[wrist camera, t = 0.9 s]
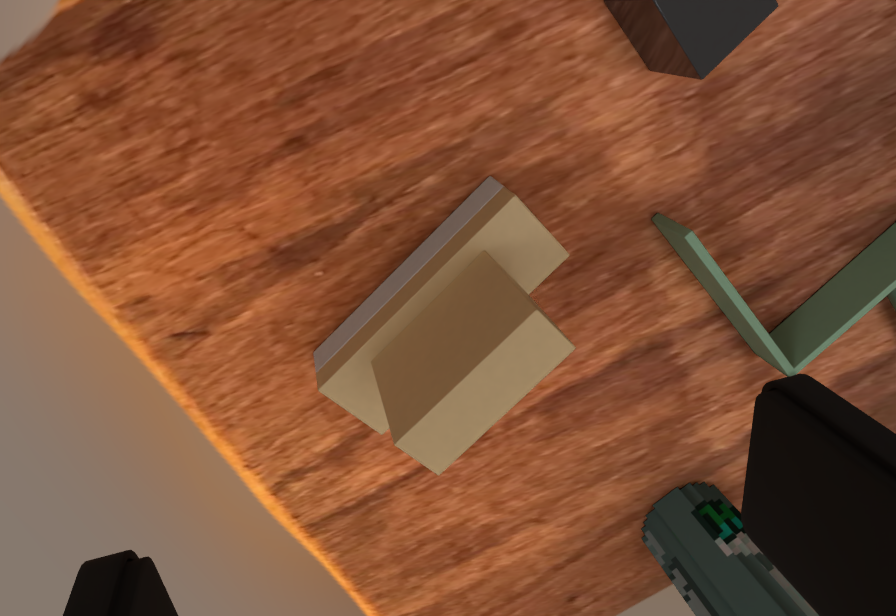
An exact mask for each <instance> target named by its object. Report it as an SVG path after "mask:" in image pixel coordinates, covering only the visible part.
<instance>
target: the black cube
mask: <svg viewBox="0 0 896 616" xmlns="http://www.w3.org/2000/svg"><path fill="white" fill-rule="evenodd" d="M604 2H605V4H606V5H607V7H608V8H609V10H610V11H611V13H612V14H613V16H614V17H615V19H616V20H617V22H618V23H619V25H620V26H621V28H622V29H623V31H624V32H625V34H626V35H627V37H628V38H629V40H630V41H631V43H632V44H633V46H634V47H635V49H636V50H637V52H638V53H639V55H640V56H641V58H642V59H643V61H644V63H645V64H646V66H647V67H648V69H649V70H650V71H653V72H659V73H665V74H671V75H677V76H683V77H688V78H694V79H700V80H702V79H704V78H705V77H706V76H707V75H708V74H709V73H710V72H711V71H712V70H713V69H714V68H715V67H716V66H717V65H718V64H719V63H720V62H721V61H722V60H723V59H724V58H725V57H726V56H727V55H728V54H729V53H731V52H732V51H733V50H734V49H735V48H736V47H737V46H738V45H739V44H740V43H741V42H742V41H743V40H744V39H745V38H746V37H747V36H748V35H749V34H750V33H751V32H752V31H753V30H754V29H755V28H756V27H757V26H758V25H759V24H760V23H761V22H762V21H764V20H765V19H766V18H767V17H768V16H769V15H770V14H771V13H772V12H773V11H774V10H775V9H776V8H777V7H778V3H777V1H776V0H604Z"/></svg>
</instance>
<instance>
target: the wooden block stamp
mask: <svg viewBox="0 0 896 616" xmlns="http://www.w3.org/2000/svg"><path fill="white" fill-rule="evenodd" d="M568 257H569V253H568V252H567V251H566V250H565V249H564V248H563V247H562V246H561V244H560V243H559V242H558V241H557V240H556V239H555V238H554V237H553V236H552V235H551V233H550V232H549V231H548V230H547V229H546V228H545V227H544V226H543V225H542V223H541V222H540V221H539V220H538V219H537V218H536V217H535V216H534V215H533V214H532V212H531V211H530V210H529V209H528V208H527V207H526V206H525V205H524V204H523V202H522V201H521V200H520V199H519V198H518V197H517V196H516V195H515V194H514V193H512V192H511V191H510V190H508V189H507V188H506V187H504V186H503V185H502V184H500V183H499V182H498V181H497V180H495V179H494V178H493V177H491V176H489V177H488V178H487V179H486V180H485V181H484V182H483V183H482V184H481V185H480V186H479V187H478V188H477V189H476V190H475V191H474V192H473V193H472V194H471V195H470V196H469V197H468V198H467V199H466V200H465V201H464V202H463V203H462V204H461V205H460V206H459V207H458V208H457V209H456V210H455V211H454V212H453V213H452V214H451V215H450V216H449V217H448V218H447V219H446V220H445V221H444V222H443V223H442V224H441V225H440V226H439V227H438V228H437V229H436V230H435V231H434V232H433V233H432V234H431V235H430V236H429V237H428V238H427V239H426V240H425V241H424V242H423V243H422V244H421V245H420V246H419V247H418V248H417V249H416V250H415V251H414V252H413V253H412V254H411V255H410V256H409V257H408V258H407V259H406V260H405V261H404V262H403V263H402V264H401V265H400V266H399V267H398V268H397V269H396V270H395V271H394V272H393V273H392V274H391V275H390V276H389V277H388V278H387V279H386V280H385V281H384V282H383V283H382V284H381V285H380V286H379V287H378V288H377V289H376V290H375V291H374V292H373V293H372V294H371V295H370V296H369V297H368V298H367V299H366V300H365V301H364V302H363V303H362V304H361V305H360V306H359V307H358V308H357V309H356V310H355V311H354V312H353V313H352V314H351V315H350V316H349V317H348V318H347V319H346V320H345V321H344V322H343V323H342V324H341V325H340V326H339V327H338V328H337V329H336V330H335V331H334V332H333V333H332V334H331V335H330V336H329V337H328V338H327V339H326V340H325V341H324V342H323V343H322V344H321V345H320V346H319V347H318V348H317V349H316V350H315V351H314V353H313V354H314V362H315V370H316V379H317V387H318V391H319V392H321V393H322V394H324V395H325V396H327V397H328V398H330V399H331V400H332V401H334V402H335V403H337V404H338V405H340V406H341V407H343V408H344V409H345V410H347V411H348V412H350V413H351V414H353V415H354V416H355V417H357V418H358V419H360V420H361V421H363V422H364V423H366V424H367V425H368V426H370V427H371V428H373V429H374V430H376V431H377V432H379V433H380V434H381V435H382V434H384V433H385V432H386V431H387V430H388V429H389V428H390V431H391V435H392V438H393V442H394V445H395V446H397V447H398V448H399V449H401V450H402V451H404V452H405V453H407V454H408V455H410V456H411V457H412V458H414V459H415V460H417V461H418V462H420V463H421V464H423V465H424V466H425V467H427V468H428V469H430V470H431V471H433V472H434V473H436V474H437V475H440V474H441V473H442V472H443V471H444V470H445V469H446V468H448V467H449V466H450V465H451V464H452V463H453V462H454V461H455V460H456V459H457V458H458V457H459V456H460V455H462V454H463V453H464V452H465V451H466V450H467V449H468V448H469V447H470V446H471V445H472V444H473V443H474V442H476V441H477V440H478V439H479V438H480V437H481V436H482V435H483V434H484V433H485V432H486V431H487V430H488V429H490V428H491V427H492V426H493V425H494V424H495V423H496V422H497V421H498V420H499V419H500V418H501V417H502V416H504V415H505V414H506V413H507V412H508V411H509V410H510V409H511V408H512V407H513V406H514V405H515V404H516V403H518V402H519V401H520V400H521V399H522V398H523V397H524V396H525V395H526V394H527V393H528V392H529V391H530V390H532V389H533V388H534V387H535V386H536V385H537V384H538V383H539V382H540V381H541V380H542V379H543V378H544V377H546V376H547V375H548V374H549V373H550V372H551V371H552V370H553V369H554V368H555V367H556V366H557V365H558V364H560V363H561V362H562V361H563V360H564V359H565V358H566V357H567V356H568V355H569V354H570V353H571V352H572V351H574V350H575V348H576V347H575V346H574V345H573V344H572V342H571V341H570V340H569V339H568V338H567V337H566V336H565V335H564V334H563V332H562V331H561V330H560V329H559V328H558V327H557V326H556V325H555V324H554V322H553V321H552V320H551V319H550V318H549V317H548V316H547V315H546V314H545V312H544V311H543V310H542V309H541V308H540V307H539V306H538V305H537V304H536V302H535V301H534V300H533V299H532V298H531V297H530V296H529V294H530V293H531V292H532V291H533V290H534V289H535V288H536V287H537V286H538V285H539V284H540V283H541V282H542V281H544V280H545V279H546V278H547V277H548V276H549V275H550V274H551V273H552V272H553V271H554V270H555V269H556V268H557V267H558V266H559V265H560V264H561V263H562V262H563V261H564V260H565V259H567V258H568Z"/></svg>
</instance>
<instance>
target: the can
mask: <svg viewBox="0 0 896 616" xmlns="http://www.w3.org/2000/svg"><path fill="white" fill-rule="evenodd" d="M653 506H654V508H655V509H654V510H653V511H651V512H650V513H649V514H647V515H646V517H647V518H648V519H647V520H646V521H645V522H643V523H644V524H645V527H643V528H642V529H641V530H642V531H643V532H644V534H645V536H644V537H643V538H642V540H643V541H644V543H645V544H646V546H647V547H648V548H649V550H650V551H651V553H652V554H653V556H654V557H655V558H656V560H657V561H658V563H659V564H660V566H661V567H662V568H663V570H664V571H665V573H666V574H667V575H668V577H669V578H670V580H671V581H672V583H673V584H674V585H675V586H676V588H677V590H678V591H679V593H680V594H681V595H682V597H683V598H684V600H685V601H686V603H687V604H688V605H689V607H690V608H691V609H692V611H693V612H694V614H695V615H696V616H819V615H818V614H817V613H816V612H815V610H814V609H813V608H812V607H811V606H810V605H809V604H808V603H807V602H806V600H805V599H804V598H803V597H802V596H801V595H800V594H799V593H798V592H797V591H796V589H795V588H794V587H793V586H792V585H791V584H790V583H789V582H788V581H787V580H786V578H785V577H784V576H783V575H782V574H781V573H780V572H779V571H778V570H777V568H776V567H775V566H774V565H773V564H772V563H771V562H770V561H769V560H768V559H767V557H766V556H765V555H764V554H763V553H762V552H761V551H760V550H759V549H758V548H757V546H756V545H755V544H754V543H753V542H752V541H751V540H750V538H749V537H748V536H747V534H746V532H745V530H744V528H743V525H742V521H741V513H740V512H739V511H738V510H737V509H736V508H735V507H734V506H733V505H732V504H731V502H730V501H729V500H728V499H727V498H726V497H725V496H724V495H723V494H722V493H721V492H720V491H719V490H718V489H717V487H716V486H715V485H712V486H711V487H710V488H709V486H708V485H707V484H706V483H705V482H703V483H702V484H701V485H699V484H698V483H695V484H694V485H693V486H692V485H691V484H690V483H689V484H687V485H686V486H685V487H683V488H682V489H681V490H679V488H678V487H677V488H675V489H674V490H673V491H671V492H670V493H669V494H667V495H666V496H665V497H663V498H662V499H661V500H659V501H658V502H657V503H655V504H654V505H653Z"/></svg>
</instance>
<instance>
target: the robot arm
mask: <svg viewBox="0 0 896 616" xmlns="http://www.w3.org/2000/svg"><path fill="white" fill-rule="evenodd" d="M741 521H742V525H743V528H744V530H745V532H746V534H747V536H748V537H749V538H750V540H751V541H752V542H753V543H754V544H755V545H756V546H757V548H758V549H759V550H760V551H761V552H762V553H763V554H764V555H765V556H766V557H767V559H768V560H769V561H770V562H771V563H772V564H773V565H774V566H775V567H776V568H777V570H778V571H779V572H780V573H781V574H782V575H783V576H784V577H785V578H786V580H787V581H788V582H789V583H790V584H791V585H792V586H793V587H794V588H795V589H796V591H797V592H798V593H799V594H800V595H801V596H802V597H803V598H804V599H805V600H806V602H807V603H808V604H809V605H810V606H811V607H812V608H813V609H814V610H815V612H816V613H817V614H818V615H819V616H896V434H895V433H893V432H892V431H890V430H889V429H888V428H886V427H885V426H883V425H882V424H880V423H879V422H877V421H876V420H874V419H873V418H871V417H870V416H868V415H867V414H865V413H864V412H862V411H861V410H859V409H858V408H856V407H855V406H853V405H852V404H851V403H849V402H848V401H846V400H845V399H843V398H842V397H840V396H839V395H837V394H836V393H834V392H833V391H831V390H830V389H828V388H827V387H825V386H824V385H822V384H821V383H819V382H818V381H816V380H815V379H813V378H812V377H810V376H808V375H806V374H797V375H793V376H789V377H785V378H782V379H778V380H774V381H770V382H768V383H766V384H765V385H764V387H763V389H762V392H761V394H759V395H758V396H757V397H756V401H755V407H754V415H753V423H752V431H751V439H750V447H749V455H748V463H747V471H746V479H745V486H744V494H743V502H742V510H741ZM63 616H178V614H177V612H176V610H175V608H174V606H173V603H172V601H171V599H170V597H169V595H168V593H167V591H166V588H165V586H164V584H163V582H162V580H161V577H160V575H159V573H158V571H157V569H156V567H155V565H154V563H153V561H152V559H151V558H150V557H143V558H140V559H139V558H138V556H137V555H136V553H135V552H133V551H132V550H127V551H124V552H119V553H116V554H112V555H108V556H105V557H101V558H96V559H93V560H89V561H86V562H85V563H84V564H82V566H81V568H80V570H79V572H78V574H77V577H76V580H75V583H74V586H73V588H72V591H71V594H70V597H69V600H68V603H67V605H66V608H65V611H64V614H63Z"/></svg>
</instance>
